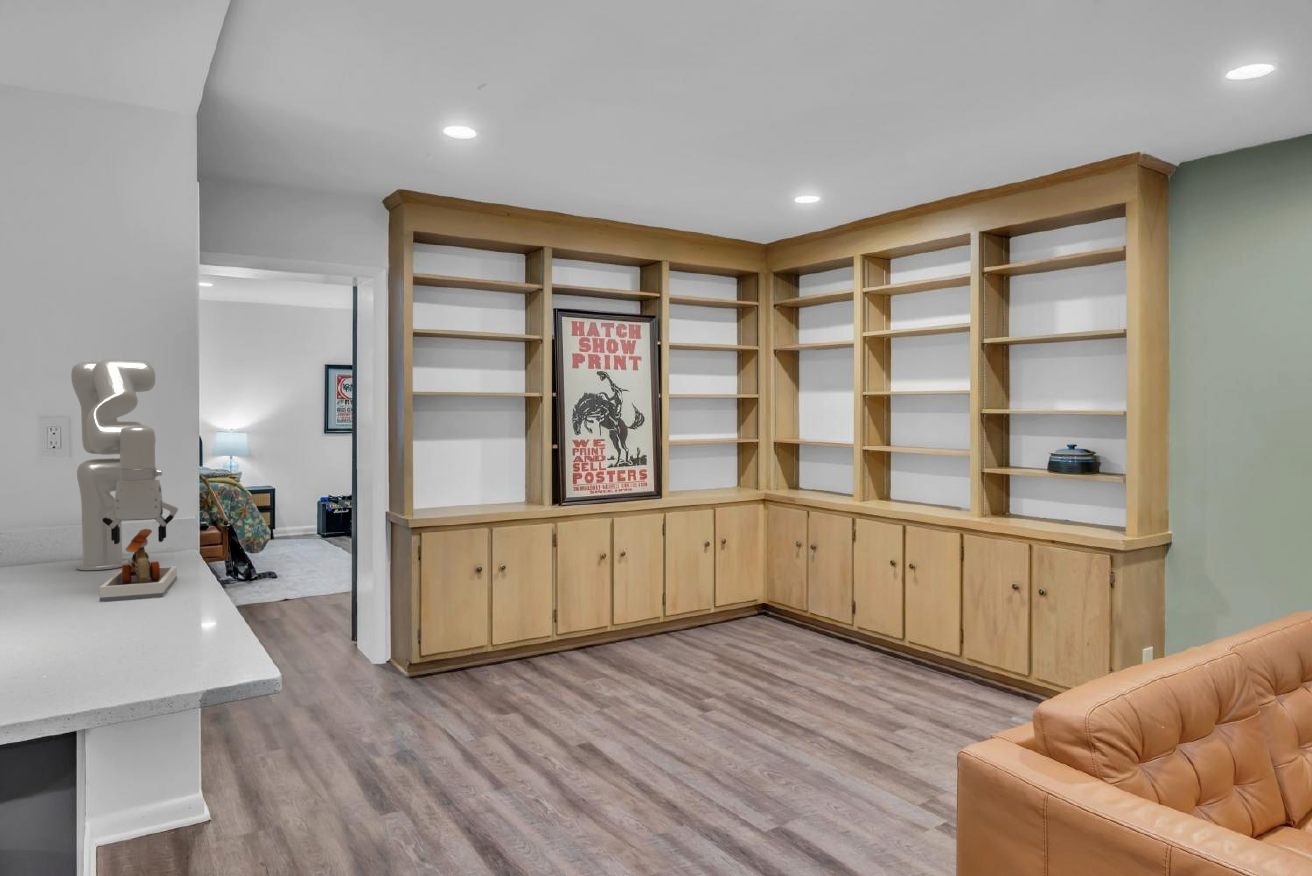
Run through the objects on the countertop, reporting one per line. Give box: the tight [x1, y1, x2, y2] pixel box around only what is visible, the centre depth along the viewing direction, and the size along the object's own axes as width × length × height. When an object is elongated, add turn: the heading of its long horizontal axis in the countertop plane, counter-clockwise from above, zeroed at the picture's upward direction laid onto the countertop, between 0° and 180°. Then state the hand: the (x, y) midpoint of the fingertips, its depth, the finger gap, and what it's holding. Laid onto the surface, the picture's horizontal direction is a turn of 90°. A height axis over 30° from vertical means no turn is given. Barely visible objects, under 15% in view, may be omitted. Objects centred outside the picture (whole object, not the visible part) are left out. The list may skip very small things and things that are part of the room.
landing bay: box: [98, 565, 178, 602], centre depth 206 cm, size 23×13×4 cm, turn 23°
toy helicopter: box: [121, 528, 161, 584], centre depth 206 cm, size 8×21×14 cm, turn 36°
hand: (139, 542), depth 206 cm, fingers open, 9 cm apart
